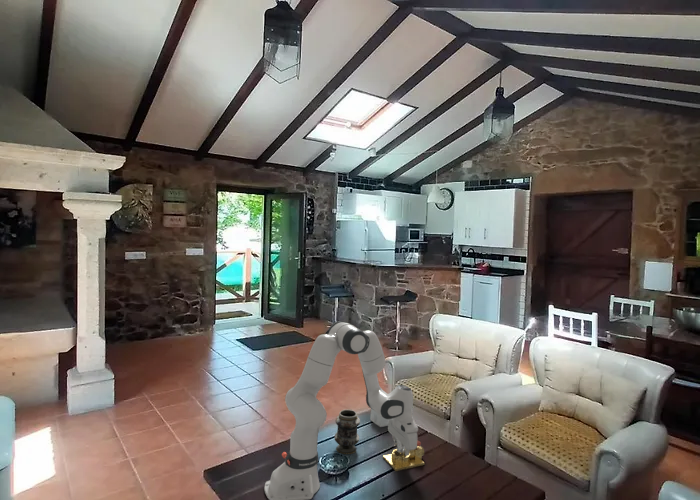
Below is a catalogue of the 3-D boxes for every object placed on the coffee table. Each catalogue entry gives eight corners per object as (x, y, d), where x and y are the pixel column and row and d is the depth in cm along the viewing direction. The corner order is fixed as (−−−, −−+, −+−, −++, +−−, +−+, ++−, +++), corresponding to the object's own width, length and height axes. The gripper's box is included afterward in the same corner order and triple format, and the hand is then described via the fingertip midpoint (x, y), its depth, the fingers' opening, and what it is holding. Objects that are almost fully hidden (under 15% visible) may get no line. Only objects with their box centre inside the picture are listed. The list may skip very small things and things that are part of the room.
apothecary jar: (358, 456, 206) (360, 419, 205) (333, 455, 206) (334, 417, 205) (358, 443, 218) (360, 408, 217) (334, 442, 218) (335, 407, 217)
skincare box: (390, 425, 239) (391, 406, 239) (380, 427, 236) (381, 408, 236) (379, 417, 249) (380, 399, 248) (369, 419, 245) (370, 401, 245)
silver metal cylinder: (399, 462, 200) (400, 441, 200) (394, 458, 204) (395, 437, 203) (406, 460, 202) (407, 439, 201) (402, 456, 205) (403, 435, 205)
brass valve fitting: (395, 471, 195) (396, 454, 194) (382, 457, 206) (383, 441, 205) (428, 463, 202) (429, 447, 202) (414, 451, 213) (415, 435, 212)
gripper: (385, 412, 210) (384, 440, 211) (408, 431, 191) (406, 462, 192) (396, 410, 212) (395, 438, 213) (420, 429, 194) (418, 459, 195)
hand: (401, 450), depth 202 cm, fingers open, 8 cm apart
